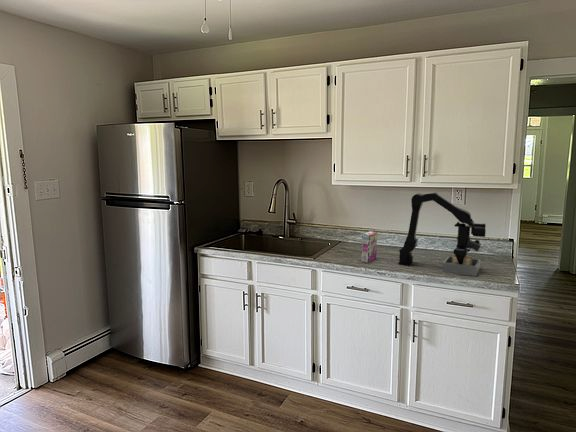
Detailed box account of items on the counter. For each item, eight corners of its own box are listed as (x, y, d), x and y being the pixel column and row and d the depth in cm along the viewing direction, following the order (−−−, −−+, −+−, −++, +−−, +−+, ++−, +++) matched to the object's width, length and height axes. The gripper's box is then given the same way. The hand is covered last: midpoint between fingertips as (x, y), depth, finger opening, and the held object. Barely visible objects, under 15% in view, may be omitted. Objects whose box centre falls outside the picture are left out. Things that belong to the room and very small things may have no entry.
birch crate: (451, 266, 215) (452, 257, 214) (453, 263, 220) (454, 254, 219) (470, 268, 210) (470, 259, 209) (471, 265, 216) (472, 256, 215)
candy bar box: (368, 263, 230) (369, 235, 227) (360, 262, 233) (361, 234, 230) (376, 259, 239) (377, 231, 236) (368, 257, 242) (369, 230, 239)
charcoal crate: (442, 271, 213) (443, 262, 212) (448, 264, 226) (448, 255, 226) (476, 276, 205) (476, 266, 204) (479, 268, 218) (480, 259, 218)
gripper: (478, 240, 201) (476, 270, 203) (482, 233, 216) (480, 262, 219) (454, 237, 206) (452, 267, 209) (460, 231, 222) (458, 259, 225)
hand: (461, 264), depth 215 cm, fingers closed on birch crate, 6 cm apart
